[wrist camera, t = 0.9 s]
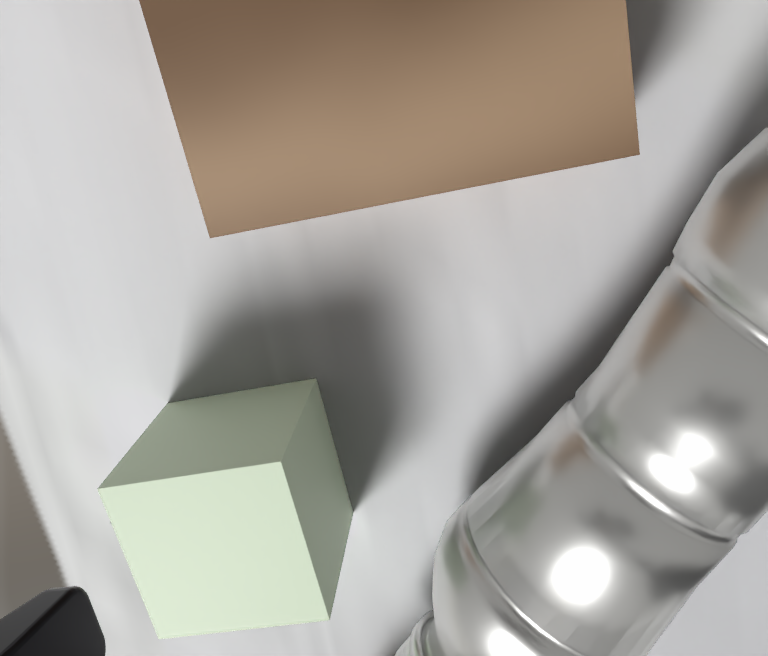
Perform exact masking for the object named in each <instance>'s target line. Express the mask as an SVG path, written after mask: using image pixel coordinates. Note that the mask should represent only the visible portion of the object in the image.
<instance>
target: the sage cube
mask: <svg viewBox="0 0 768 656" xmlns="http://www.w3.org/2000/svg"><path fill="white" fill-rule="evenodd" d="M98 492H99V494H100V497H101V499H102V502H103V504H104V507H105V509H106V511H107V514H108V516H109V519H110V521H111V524H112V526H113V528H114V531H115V533H116V536H117V538H118V541H119V543H120V546H121V548H122V550H123V553H124V555H125V558H126V560H127V563H128V565H129V567H130V570H131V572H132V575H133V577H134V580H135V582H136V585H137V587H138V589H139V592H140V594H141V597H142V599H143V602H144V604H145V606H146V609H147V611H148V614H149V616H150V619H151V621H152V624H153V626H154V628H155V631H156V633H157V636H158V638H159V639H166V638H175V637H184V636H193V635H202V634H211V633H220V632H229V631H238V630H247V629H256V628H265V627H274V626H283V625H292V624H301V623H310V622H319V621H328V620H330V616H331V612H332V607H333V603H334V598H335V593H336V589H337V584H338V580H339V575H340V571H341V566H342V562H343V557H344V552H345V548H346V543H347V539H348V534H349V530H350V525H351V521H352V516H353V510H352V506H351V503H350V499H349V495H348V492H347V488H346V484H345V481H344V477H343V473H342V470H341V466H340V463H339V459H338V455H337V452H336V448H335V444H334V441H333V437H332V434H331V430H330V426H329V423H328V419H327V415H326V412H325V408H324V405H323V401H322V397H321V394H320V390H319V386H318V383H317V379H316V378H314V379H308V380H302V381H296V382H291V383H285V384H279V385H273V386H267V387H261V388H255V389H249V390H243V391H237V392H231V393H225V394H219V395H213V396H207V397H201V398H195V399H189V400H183V401H177V402H171V403H167V404H166V406H165V407H164V408H163V409H162V411H161V412H160V413H159V414H158V415H157V417H156V418H155V419H154V420H153V422H152V423H151V424H150V425H149V426H148V428H147V429H146V430H145V431H144V433H143V434H142V435H141V436H140V437H139V439H138V440H137V441H136V442H135V444H134V445H133V446H132V447H131V448H130V450H129V451H128V452H127V453H126V455H125V456H124V457H123V458H122V459H121V461H120V462H119V463H118V464H117V466H116V467H115V468H114V469H113V470H112V472H111V473H110V474H109V475H108V477H107V478H106V479H105V480H104V481H103V483H102V484H101V485H100V486H99V488H98Z"/></svg>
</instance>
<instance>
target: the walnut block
mask: <svg viewBox="0 0 768 656" xmlns="http://www.w3.org/2000/svg"><path fill="white" fill-rule="evenodd" d="M139 1H140V5H141V8H142V11H143V15H144V18H145V21H146V25H147V28H148V31H149V35H150V38H151V42H152V45H153V48H154V52H155V55H156V58H157V62H158V65H159V68H160V72H161V75H162V79H163V82H164V85H165V89H166V92H167V95H168V99H169V102H170V105H171V109H172V112H173V115H174V119H175V122H176V126H177V129H178V132H179V136H180V139H181V142H182V146H183V149H184V152H185V156H186V159H187V162H188V166H189V169H190V173H191V176H192V179H193V183H194V186H195V189H196V193H197V196H198V199H199V203H200V206H201V209H202V213H203V216H204V220H205V223H206V226H207V230H208V233H209V236H210V238H214V237H219V236H224V235H229V234H234V233H239V232H244V231H249V230H255V229H260V228H265V227H270V226H275V225H280V224H285V223H291V222H296V221H301V220H306V219H311V218H316V217H321V216H327V215H332V214H337V213H342V212H347V211H352V210H357V209H363V208H368V207H373V206H378V205H383V204H388V203H393V202H398V201H404V200H409V199H414V198H419V197H424V196H429V195H434V194H440V193H445V192H450V191H455V190H460V189H465V188H470V187H476V186H481V185H486V184H491V183H496V182H501V181H506V180H511V179H517V178H522V177H527V176H532V175H537V174H542V173H547V172H553V171H558V170H563V169H568V168H573V167H578V166H583V165H589V164H594V163H599V162H604V161H609V160H614V159H619V158H625V157H630V156H635V155H640V152H639V141H638V130H637V119H636V108H635V97H634V86H633V75H632V64H631V53H630V42H629V31H628V20H627V9H626V0H139Z"/></svg>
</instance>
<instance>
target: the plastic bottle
mask: <svg viewBox="0 0 768 656" xmlns="http://www.w3.org/2000/svg"><path fill="white" fill-rule="evenodd" d="M672 252H673V254H674V258H673V260H672V262H671V264H670V266H666V267H665V269H664V270H663V272H662V273H661V275H660V276H659V278H658V279H657V280H656V282H655V283H654V285H653V286H652V288H651V289H650V291H649V292H648V294H647V295H646V297H645V298H644V300H643V301H642V303H641V304H640V306H639V307H638V309H637V310H636V312H635V313H634V314H633V316H632V317H631V319H630V320H629V322H628V323H627V325H626V326H625V328H624V329H623V331H622V332H621V334H620V335H619V337H618V338H617V340H616V341H615V343H614V344H613V346H612V347H611V349H610V350H609V351H608V353H607V354H606V356H605V357H604V359H603V360H602V362H601V363H600V365H599V366H598V367H597V368H596V369H595V371H594V372H593V373H592V374H591V375H590V376H589V377H588V378H587V379H586V380H585V382H584V383H583V384H582V385H581V386H580V387H579V388H578V389H577V391H576V392H575V397H574V398H573V399H572V400H569V401H567V402H566V403H565V404H564V405H563V406H562V407H561V408H560V409H559V411H558V412H557V413H556V414H555V415H554V416H553V417H552V418H551V419H550V421H549V422H548V423H547V424H546V425H545V426H544V427H543V428H542V430H541V431H540V432H539V433H538V434H537V435H536V436H535V437H534V438H533V439H532V440H531V441H530V442H529V443H528V444H527V445H525V446H524V447H523V448H522V449H521V450H520V451H519V452H518V453H517V454H516V455H514V456H513V457H512V458H511V459H510V460H509V461H508V462H507V463H506V464H505V465H503V466H502V467H501V468H500V469H499V470H498V471H497V472H496V473H495V474H494V475H492V476H491V477H490V478H489V479H488V480H487V481H486V482H485V483H484V484H483V485H481V486H480V487H479V488H478V489H477V490H476V491H475V492H474V494H472V495H470V496H469V497H468V498H467V500H466V501H465V502H464V503H463V504H462V505H461V506H460V507H459V508H458V509H457V510H456V511H455V513H454V514H453V515H452V516H451V517H450V518H449V519H448V520H447V522H446V524H445V527H444V530H443V532H442V535H441V538H440V541H439V544H438V547H437V549H436V552H435V555H434V565H433V587H432V600H433V610H431V611H429V612H428V613H426V614H425V615H424V616H423V617H422V618H421V619H420V620H419V621H418V622H417V624H416V625H415V626H414V628H413V629H412V632H411V635H410V636H409V637H408V639H407V640H406V641H405V642H404V643H403V644H402V645H401V646H400V648H399V649H398V650H397V652H396V654H395V656H646V655H647V654H648V652H649V651H650V650H651V648H652V647H653V646H654V644H655V643H656V641H657V640H658V639H659V637H660V636H661V635H662V633H663V632H664V631H665V629H666V628H667V627H668V625H669V624H670V623H671V621H672V620H673V619H674V617H675V616H676V614H677V613H678V612H679V610H680V609H681V608H682V606H683V605H684V604H685V602H686V601H687V600H688V598H689V597H690V596H691V594H692V593H693V591H694V590H695V589H696V587H697V586H698V585H699V584H700V583H701V582H702V581H703V580H704V579H705V578H706V577H707V575H708V574H709V573H710V572H711V571H712V570H713V569H714V568H715V567H716V566H717V565H718V564H719V563H720V561H721V560H722V559H723V558H724V557H725V556H726V555H727V554H728V553H729V552H730V551H731V550H732V549H733V547H734V546H735V544H736V543H737V538H738V537H739V536H740V535H741V534H744V533H747V532H748V531H749V530H750V529H751V528H752V527H753V526H754V525H755V524H756V523H757V522H758V520H759V519H760V518H761V517H762V516H763V515H764V514H765V513H766V512H767V511H768V127H767V128H764V129H763V130H762V131H761V132H760V133H759V134H758V135H757V136H756V137H755V138H754V139H753V140H752V141H751V142H750V143H748V144H747V145H746V146H745V147H744V148H743V149H742V150H741V151H740V152H739V153H738V154H737V155H736V156H735V157H734V158H733V159H731V160H730V161H729V162H728V163H727V164H726V165H725V166H724V167H723V168H722V169H721V170H720V171H719V172H718V173H717V174H716V176H715V177H714V179H713V181H712V182H711V184H710V185H709V187H708V189H707V190H706V192H705V194H704V195H703V197H702V199H701V200H700V202H699V203H698V205H697V207H696V208H695V210H694V212H693V213H692V215H691V217H690V218H689V220H688V222H687V223H686V225H685V227H684V229H683V231H682V233H681V235H680V237H679V239H678V241H677V243H676V245H675V247H674V249H673V251H672Z"/></svg>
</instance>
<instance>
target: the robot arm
mask: <svg viewBox="0 0 768 656" xmlns="http://www.w3.org/2000/svg"><path fill="white" fill-rule="evenodd" d="M0 656H105V639H104V635H103V633H102V630H101V628H100V625H99V623H98V620H97V617H96V615H95V612H94V610H93V607H92V605H91V602H90V600H89V597H88V595H87V593H86V592H85V591H84V590H83V589H82V588H80V587H77V586H72V587H61V588H52V589H48V590H45V591H43V592H42V593H40V594H39V595H37V596H35V597H34V598H32V599H31V600H29V601H28V602H26V603H25V604H23V605H22V606H20V607H19V608H17V609H15V610H14V611H12V612H11V613H9V614H8V615H6V616H5V617H3V618H2V619H0Z"/></svg>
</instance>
